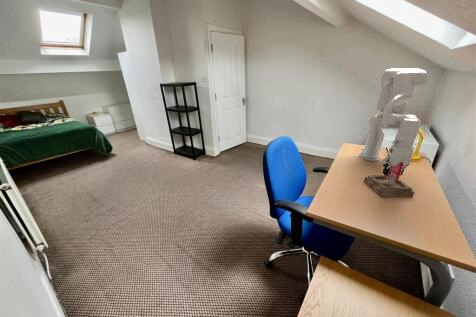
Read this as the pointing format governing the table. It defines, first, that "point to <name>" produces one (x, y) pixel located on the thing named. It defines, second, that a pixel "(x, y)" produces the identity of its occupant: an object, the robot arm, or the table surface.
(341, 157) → the table surface
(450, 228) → the table surface
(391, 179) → the soda can
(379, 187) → the walnut tray
